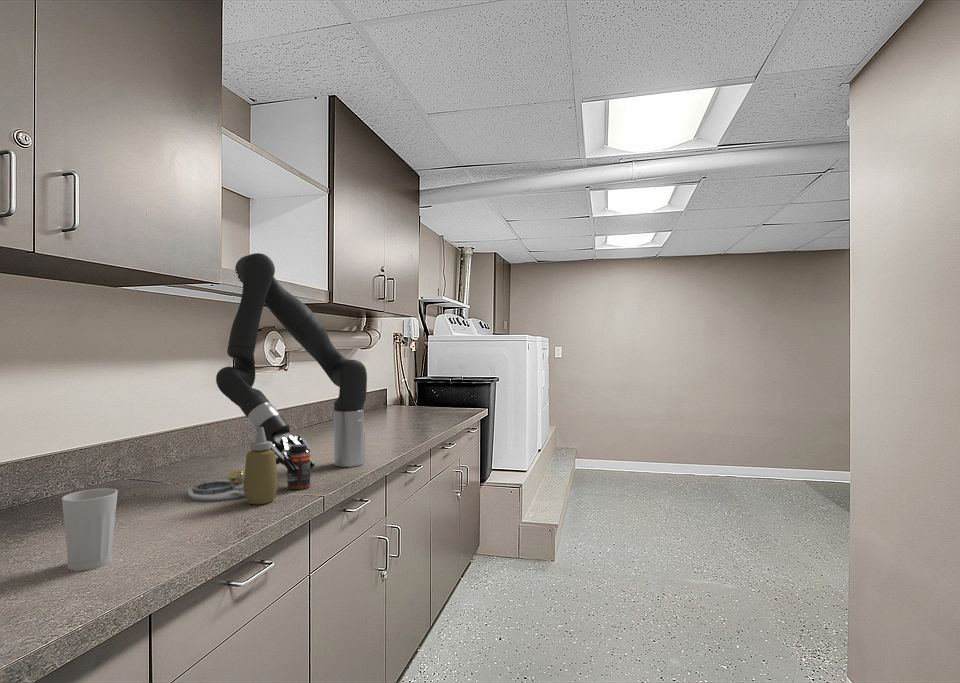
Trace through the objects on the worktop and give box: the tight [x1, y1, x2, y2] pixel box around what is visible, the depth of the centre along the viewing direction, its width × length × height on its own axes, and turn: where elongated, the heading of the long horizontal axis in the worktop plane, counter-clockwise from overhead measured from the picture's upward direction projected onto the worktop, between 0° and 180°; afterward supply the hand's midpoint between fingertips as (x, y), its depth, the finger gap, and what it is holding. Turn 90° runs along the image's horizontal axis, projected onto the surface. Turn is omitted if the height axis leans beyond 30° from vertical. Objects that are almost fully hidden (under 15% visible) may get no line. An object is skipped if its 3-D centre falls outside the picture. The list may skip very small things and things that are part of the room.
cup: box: [61, 488, 119, 572], centre depth 97 cm, size 8×8×12 cm
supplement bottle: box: [286, 444, 312, 490], centre depth 148 cm, size 6×6×11 cm
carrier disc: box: [187, 469, 246, 502], centre depth 143 cm, size 16×16×4 cm
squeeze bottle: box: [243, 427, 279, 505], centre depth 135 cm, size 8×8×18 cm
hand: (304, 469), depth 148 cm, fingers closed on supplement bottle, 6 cm apart
